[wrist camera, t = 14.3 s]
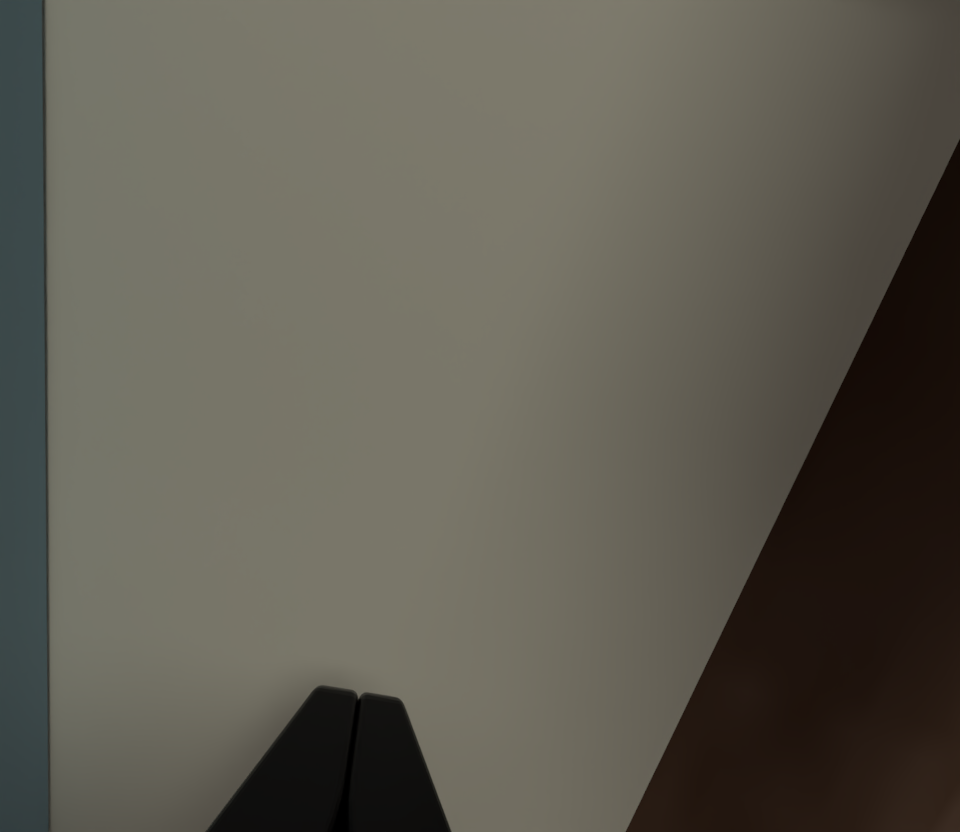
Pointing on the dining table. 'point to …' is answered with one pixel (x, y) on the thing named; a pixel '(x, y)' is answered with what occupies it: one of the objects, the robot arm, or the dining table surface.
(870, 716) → the dining table surface
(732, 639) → the dining table surface
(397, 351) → the vise bed
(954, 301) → the dining table surface
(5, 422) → the vise free jaw
